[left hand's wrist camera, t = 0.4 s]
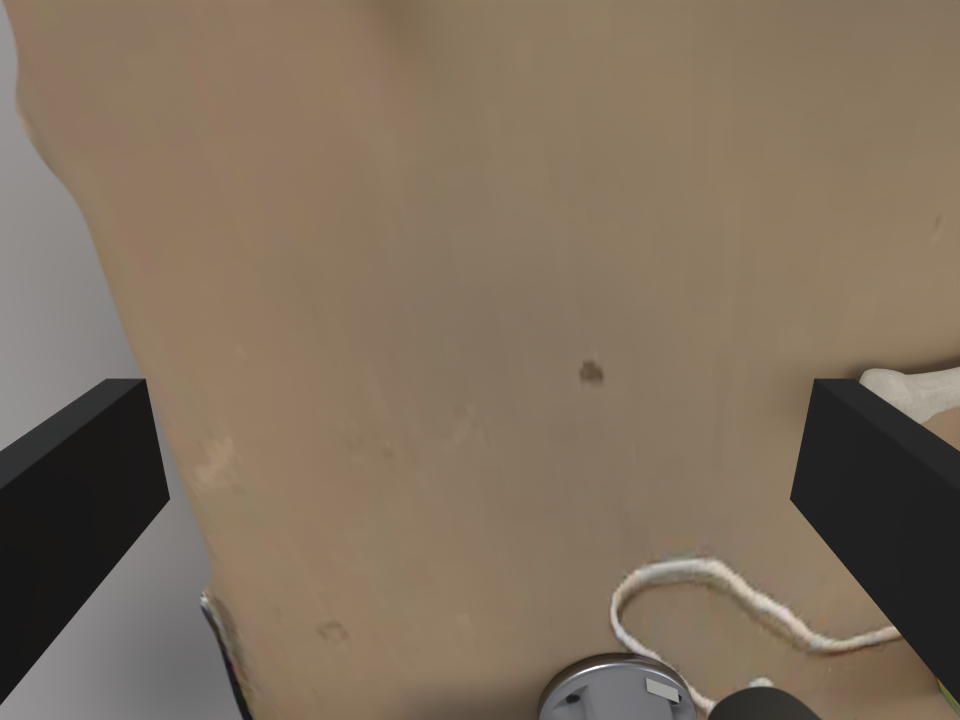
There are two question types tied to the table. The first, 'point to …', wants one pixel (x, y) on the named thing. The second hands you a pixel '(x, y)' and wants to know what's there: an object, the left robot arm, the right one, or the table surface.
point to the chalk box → (949, 698)
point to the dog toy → (916, 391)
